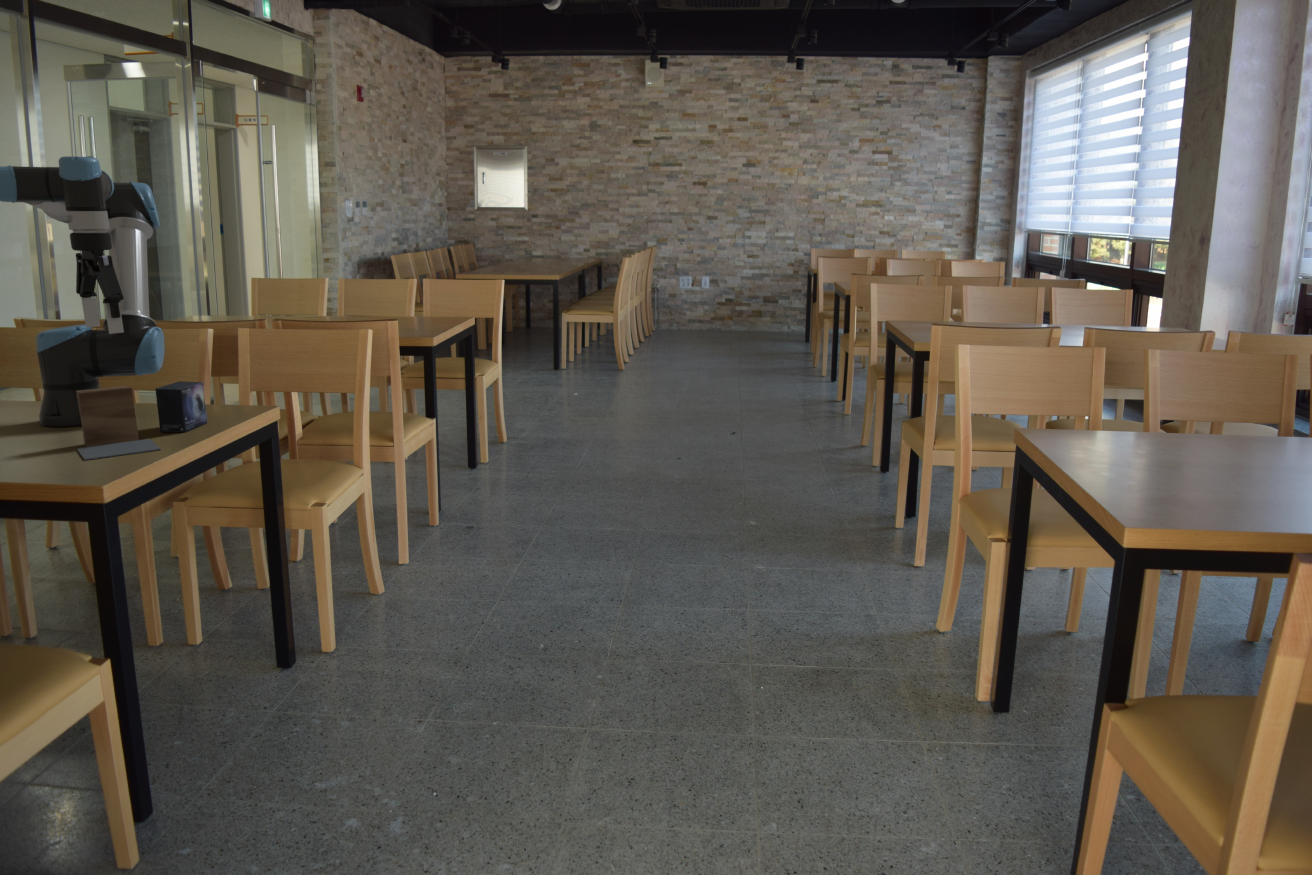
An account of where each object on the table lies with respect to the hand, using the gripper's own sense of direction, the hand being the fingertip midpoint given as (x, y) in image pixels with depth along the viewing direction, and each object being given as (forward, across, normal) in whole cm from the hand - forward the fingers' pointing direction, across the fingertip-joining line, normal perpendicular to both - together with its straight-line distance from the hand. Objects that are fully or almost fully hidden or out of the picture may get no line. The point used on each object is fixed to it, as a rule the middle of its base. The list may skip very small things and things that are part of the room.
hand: (104, 330), depth 201 cm
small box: (+25, +2, +14) cm, 28 cm away
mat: (+24, +13, -5) cm, 28 cm away
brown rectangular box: (+24, +4, -3) cm, 25 cm away
